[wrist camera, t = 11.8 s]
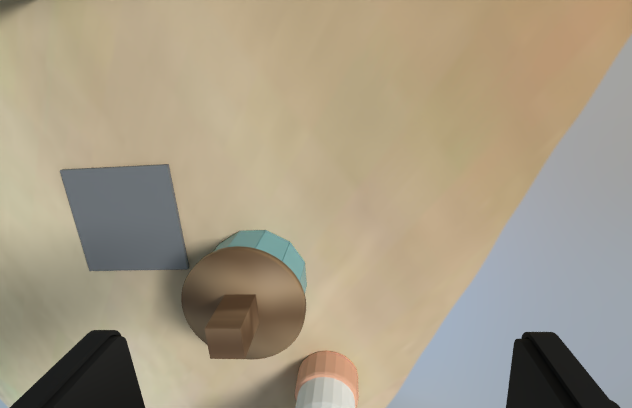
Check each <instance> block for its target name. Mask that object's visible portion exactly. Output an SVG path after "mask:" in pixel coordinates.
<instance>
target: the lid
mask: <svg viewBox="0 0 632 408" xmlns="http://www.w3.org/2000/svg"><path fill="white" fill-rule="evenodd" d="M182 308H183V312H184V315H185V318H186V320H187V322H188V324H189V325H190V327H191V329H192V330H193V331H194V333H195V334H196V335H197V336H198V337H199V338H200V339H201V340H202V341H203V342H205V343H206V344H207V345H208V349H209V354H210V359H261V358H267V357H270V356H273V355H276V354H278V353H280V352H282V351H283V350H285V349H286V348H287V347H289V346H290V345H291V344H292V343H293V342H294V341H295V340H296V338H297V337H298V335H299V333H300V331H301V329H302V326H303V323H304V319H305V313H306V299H305V294H304V291H303V288H302V285H301V283H300V281H299V280H298V278H297V276H296V275H295V274H294V272H293V271H292V270H291V269H290V268H289V267H288V266H287V265H286V264H285V263H284V262H282V261H281V260H280V259H278V258H277V257H275V256H273V255H271V254H269V253H267V252H265V251H262V250H259V249H255V248H251V247H241V246H235V247H227V248H222V249H219V250H216V251H214V252H212V253H210V254H208V255H206V256H205V257H204V258H202V259H201V260H200V261H199V262H198V263H197V264H196V265H195V266H194V268H193V269H192V270H191V271H190V273H189V274H188V276H187V278H186V280H185V282H184V285H183V289H182Z"/></svg>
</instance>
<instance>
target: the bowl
mask: <svg viewBox="0 0 632 408" xmlns="http://www.w3.org/2000/svg"><path fill="white" fill-rule="evenodd" d="M235 246H241V247H251V248H255V249H259V250H262V251H265V252H267V253H269V254H271V255H273V256H275V257H277V258H278V259H280V260H281V261H282V262H284V263H285V264H286V265H287V266H288V267H289V268H290V269H291V270H292V271H293V272H294V274H295V275H296V276H297V278H298V280H299V281H300V283H301V285H302V288H303V291H304V294H305V291H306V287H307V281H306V269H305V262H304V260H303V259H302V258H301V256H300V255H299V254H298V252H297V251H296V249H295V248H294V247H293V245H292V244H291V243H290V242H289V241H287V240H285V239H283V238H281V237H279V236H277V235H275V234H273V233H271V232H269V231H267V230H251V231H239V232H237V233H236V234H234V235H233V236H231V237H229V238H228V239H226V240H225V241H223V242H221V243H220V244H219V245H218V246H217V248H216V249H215V250H214V251H216V250H219V249H222V248H227V247H235ZM214 251H213V252H214Z"/></svg>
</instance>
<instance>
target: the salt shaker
mask: <svg viewBox="0 0 632 408" xmlns="http://www.w3.org/2000/svg"><path fill="white" fill-rule="evenodd" d="M295 399H296V406H295V408H356V407H357V404H358V374H357V369H356V367H355V366H354V364H353V363H352V362H351V361H350V360H349V359H348V358H347V357H345V356H343V355H341V354H339V353H336V352H330V351H322V352H316V353H314V354H311V355H309V356H308V357H307V358H306V359H304V360H303V362H302V363H301V365H300V367H299V372H298V378H297V383H296V388H295Z"/></svg>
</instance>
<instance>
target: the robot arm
mask: <svg viewBox="0 0 632 408" xmlns="http://www.w3.org/2000/svg"><path fill="white" fill-rule="evenodd" d="M10 408H145V405H144V402H143V398H142V394H141V391H140V387H139V384H138V380H137V377H136V373H135V369H134V366H133V362H132V359H131V355H130V352H129V348H128V345H127V341H126V339H125V338H124V337H122V336H121V334H120V333H119V332H118V331H116V330H94V331H91V332H89V333H88V334H87V335H86V336H85V337H84V338H83V339H82V340H80V341H79V342H78V343H77V344H76V345H75V346H74V347H73V348H72V349H71V350H70V351H69V352H68V353H67V354H66V355H65V356H64V357H63V358H62V359H60V360H59V361H58V362H57V363H56V364H55V365H54V366H53V367H52V368H51V369H50V370H49V371H48V372H47V373H46V374H45V375H44V376H43V377H42V378H40V379H39V380H38V381H37V382H36V383H35V384H34V385H33V386H32V387H31V388H30V389H29V390H28V391H27V392H26V393H25V394H24V395H23V396H22V397H20V398H19V399H18V400H17V401H16V402H15V403H14V404H13V405H12V406H11V407H10ZM506 408H620V407H619V406H618V405H617V404H616V403H615V402H613V401H611V400H609V398H608V397H607V396H606V395H605V394H604V392H603V391H602V390H601V388H600V387H599V386H598V385H597V384H596V382H595V381H594V380H593V379H592V377H591V376H590V375H589V374H588V372H587V371H586V370H585V369H584V367H583V366H582V365H581V364H580V363H579V361H578V360H577V359H576V358H575V356H574V355H573V354H572V353H571V351H570V350H569V349H568V348H567V346H566V345H565V344H564V343H563V342H562V340H561V339H560V338H559V337H558V336H557V335H556V334H555V333H553V332H525V333H524V334H523V335H522V339H516V340H515V342H514V348H513V356H512V364H511V372H510V380H509V389H508V397H507V405H506Z"/></svg>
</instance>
